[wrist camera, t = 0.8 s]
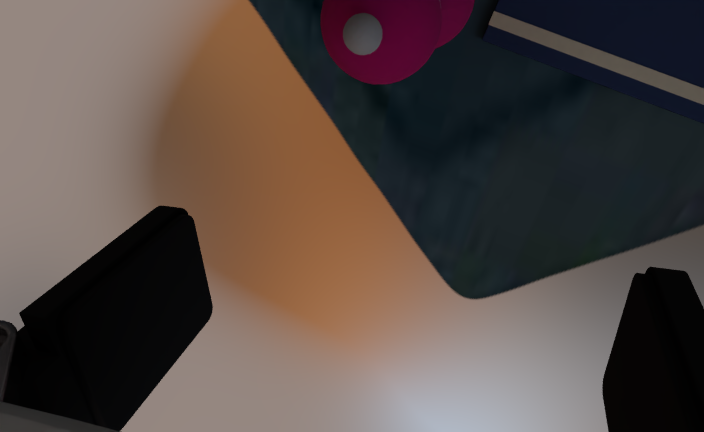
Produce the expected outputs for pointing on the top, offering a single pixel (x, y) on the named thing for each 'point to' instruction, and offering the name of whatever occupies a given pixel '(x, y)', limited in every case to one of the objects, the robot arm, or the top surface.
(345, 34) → the pepper mill
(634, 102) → the top surface
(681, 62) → the tea towel
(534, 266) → the top surface
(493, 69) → the top surface
